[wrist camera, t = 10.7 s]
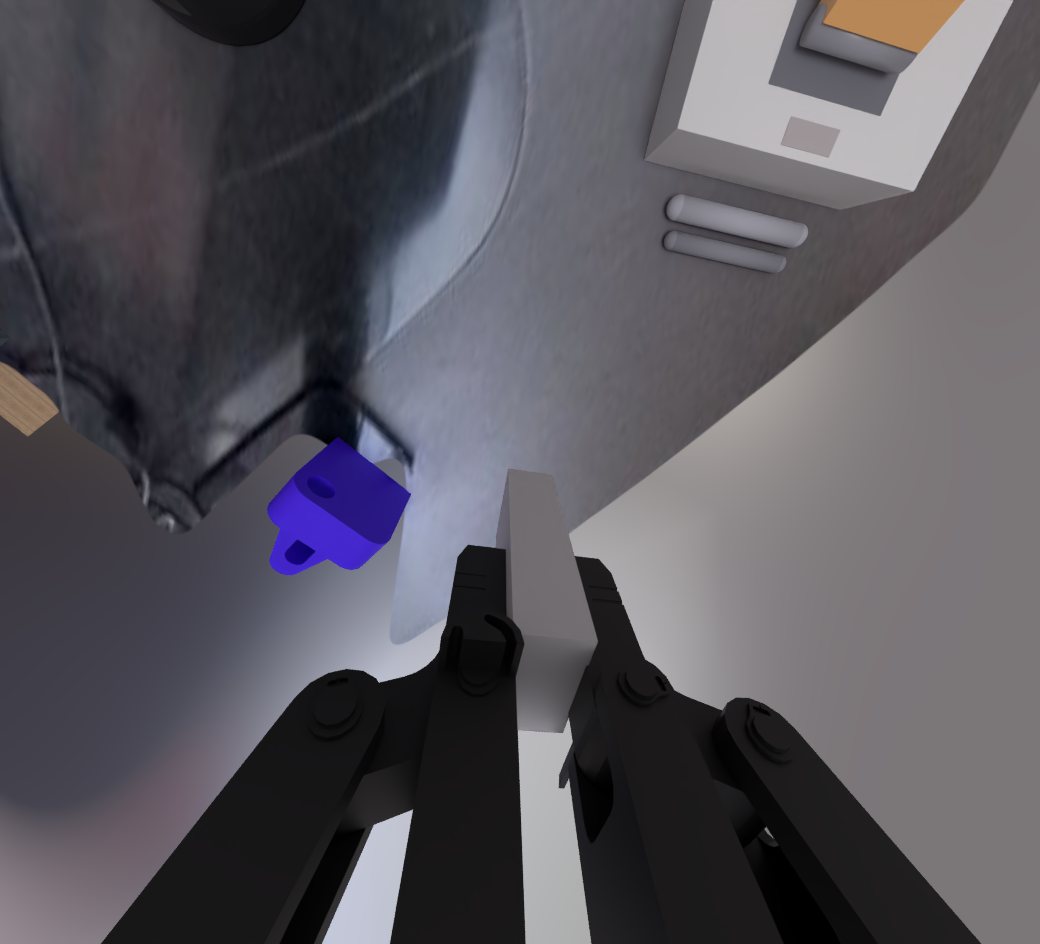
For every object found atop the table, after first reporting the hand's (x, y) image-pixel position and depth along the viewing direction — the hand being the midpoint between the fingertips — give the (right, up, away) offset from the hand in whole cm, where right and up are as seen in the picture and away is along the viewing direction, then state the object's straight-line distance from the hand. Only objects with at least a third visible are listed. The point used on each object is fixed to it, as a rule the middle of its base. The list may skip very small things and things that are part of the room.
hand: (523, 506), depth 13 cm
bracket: (-24, -4, +35) cm, 43 cm away
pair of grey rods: (+20, +24, +23) cm, 39 cm away
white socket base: (+22, +33, +19) cm, 44 cm away
